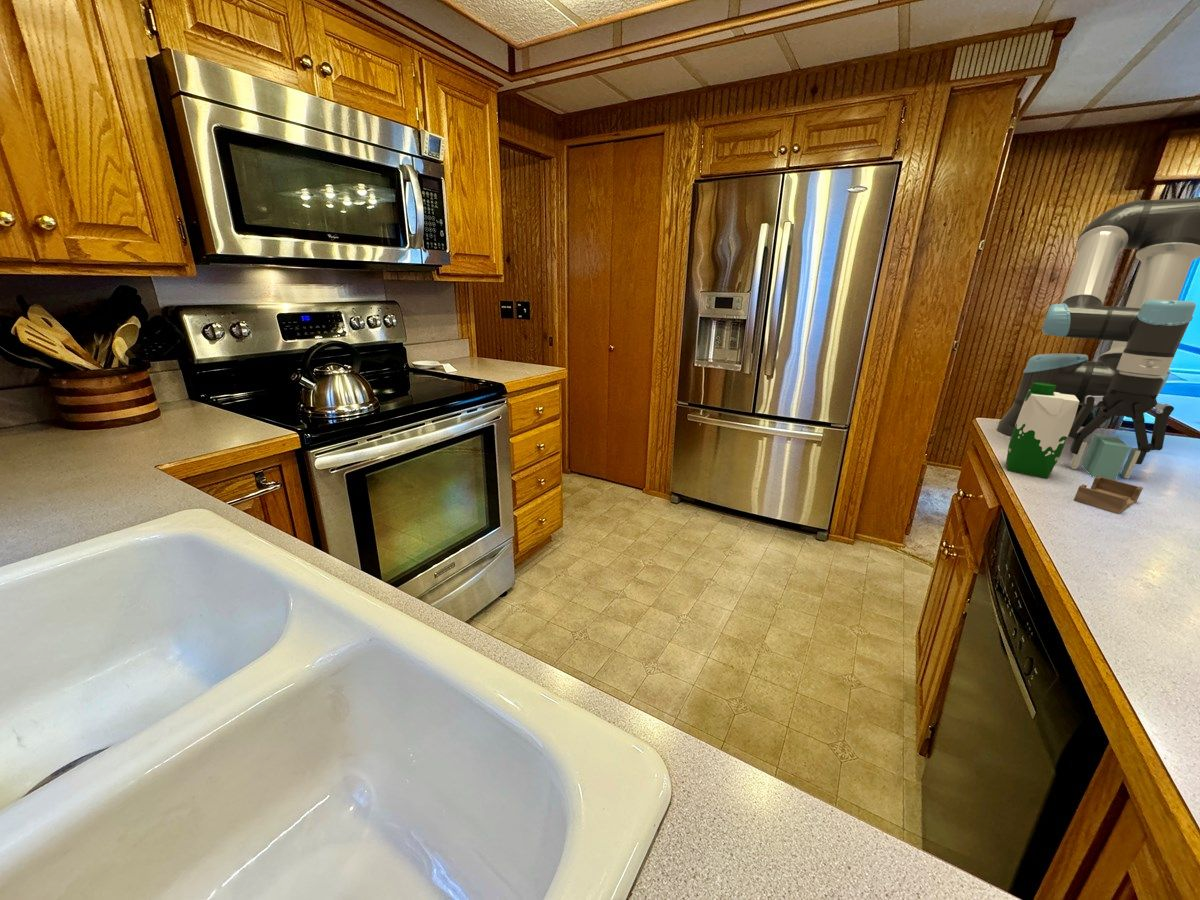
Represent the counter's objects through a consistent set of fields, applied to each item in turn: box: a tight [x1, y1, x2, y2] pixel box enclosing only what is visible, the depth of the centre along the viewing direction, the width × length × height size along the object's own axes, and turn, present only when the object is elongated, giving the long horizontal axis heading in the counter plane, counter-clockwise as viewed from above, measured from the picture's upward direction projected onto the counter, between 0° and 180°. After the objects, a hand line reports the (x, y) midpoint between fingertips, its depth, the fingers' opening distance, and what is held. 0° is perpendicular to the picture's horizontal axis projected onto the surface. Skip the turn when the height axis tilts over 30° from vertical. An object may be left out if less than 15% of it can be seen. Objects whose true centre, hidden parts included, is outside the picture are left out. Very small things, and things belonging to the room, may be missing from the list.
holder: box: [1073, 476, 1144, 515], centre depth 96 cm, size 12×7×3 cm, turn 121°
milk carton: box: [1005, 382, 1080, 479], centre depth 108 cm, size 9×9×20 cm
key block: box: [1081, 433, 1131, 481], centre depth 110 cm, size 9×4×8 cm, turn 146°
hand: (1098, 471), depth 112 cm, fingers open, 8 cm apart
